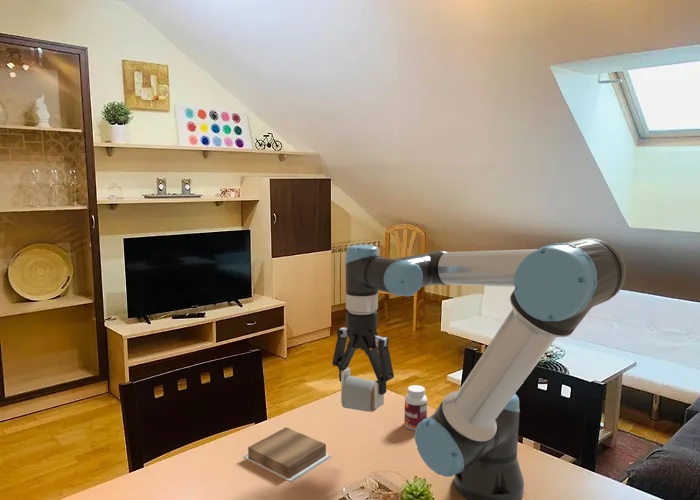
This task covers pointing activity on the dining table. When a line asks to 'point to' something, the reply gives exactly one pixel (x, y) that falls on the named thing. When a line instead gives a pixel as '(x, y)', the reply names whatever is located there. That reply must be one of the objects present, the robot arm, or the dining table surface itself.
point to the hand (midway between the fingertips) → (362, 400)
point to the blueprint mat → (297, 473)
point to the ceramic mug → (358, 394)
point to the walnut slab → (287, 452)
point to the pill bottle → (415, 406)
